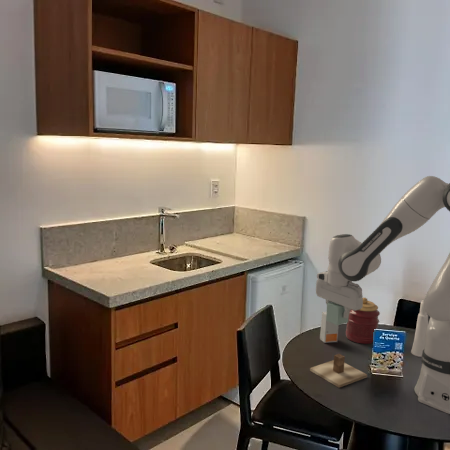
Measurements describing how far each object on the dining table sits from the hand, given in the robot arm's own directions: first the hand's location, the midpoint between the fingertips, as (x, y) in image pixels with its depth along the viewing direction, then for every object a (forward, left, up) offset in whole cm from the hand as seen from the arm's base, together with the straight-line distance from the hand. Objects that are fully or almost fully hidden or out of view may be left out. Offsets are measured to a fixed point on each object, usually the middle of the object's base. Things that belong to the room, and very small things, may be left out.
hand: (337, 314), depth 178 cm
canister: (+9, -26, -19) cm, 33 cm away
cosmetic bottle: (-13, -34, -19) cm, 41 cm away
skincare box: (+14, -12, -19) cm, 26 cm away
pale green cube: (0, 0, -3) cm, 3 cm away
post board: (-8, +6, -18) cm, 21 cm away
